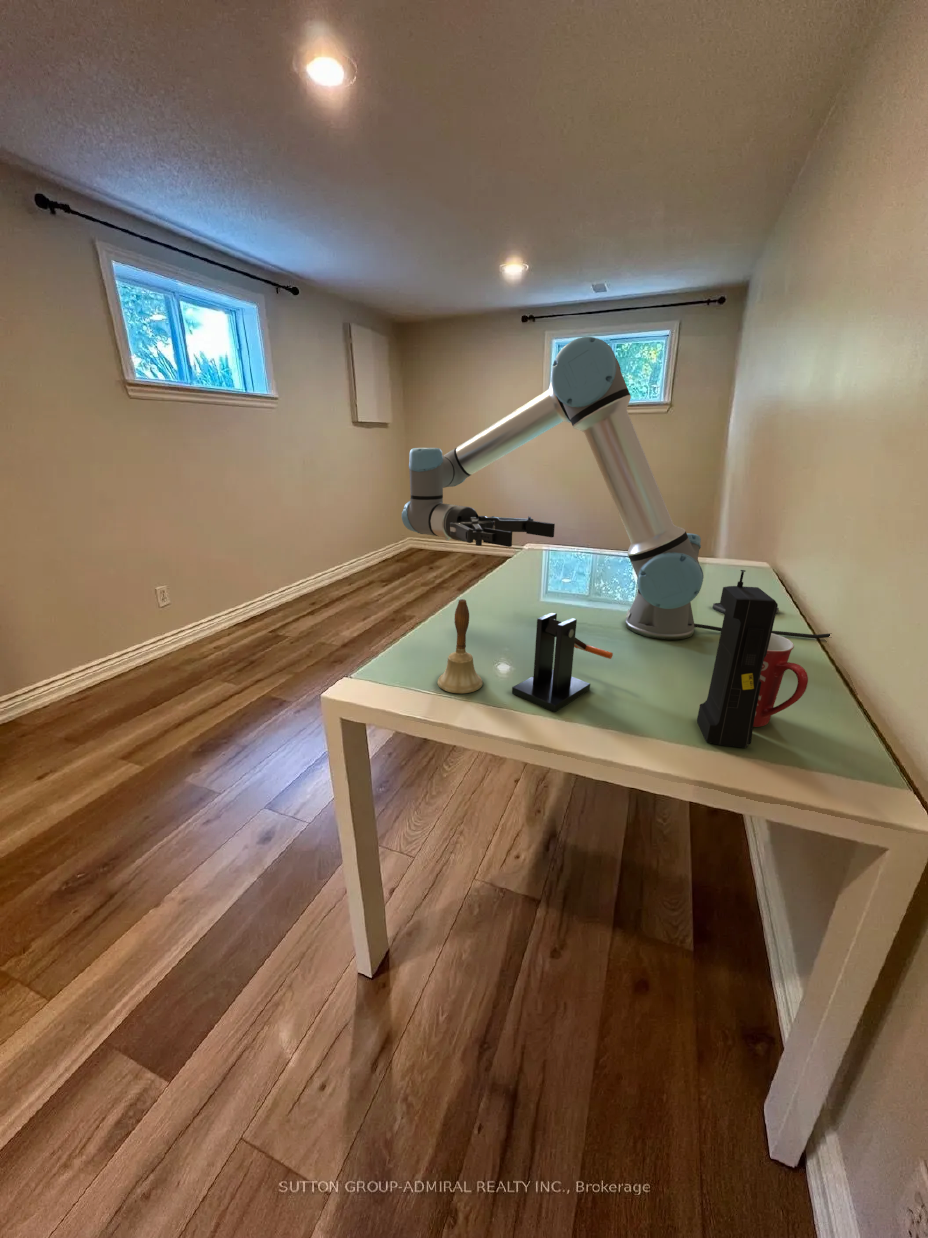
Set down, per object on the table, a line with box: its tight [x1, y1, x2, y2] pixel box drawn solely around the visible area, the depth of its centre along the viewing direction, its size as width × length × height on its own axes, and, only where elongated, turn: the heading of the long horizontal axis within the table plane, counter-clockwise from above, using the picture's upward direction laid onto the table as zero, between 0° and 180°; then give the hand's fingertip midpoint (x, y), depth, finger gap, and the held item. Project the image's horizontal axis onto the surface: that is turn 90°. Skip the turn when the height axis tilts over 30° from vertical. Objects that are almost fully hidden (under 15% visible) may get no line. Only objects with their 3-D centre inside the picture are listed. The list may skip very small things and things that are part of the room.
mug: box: [753, 633, 809, 728], centre depth 76 cm, size 13×9×14 cm
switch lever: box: [545, 619, 614, 660], centre depth 87 cm, size 14×11×2 cm
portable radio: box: [696, 569, 779, 749], centre depth 70 cm, size 8×6×25 cm
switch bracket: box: [511, 612, 591, 713], centre depth 85 cm, size 11×9×14 cm
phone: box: [712, 602, 780, 615], centre depth 130 cm, size 8×1×15 cm
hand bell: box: [436, 598, 484, 694], centre depth 87 cm, size 8×8×16 cm
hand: (533, 534), depth 95 cm, fingers open, 13 cm apart
